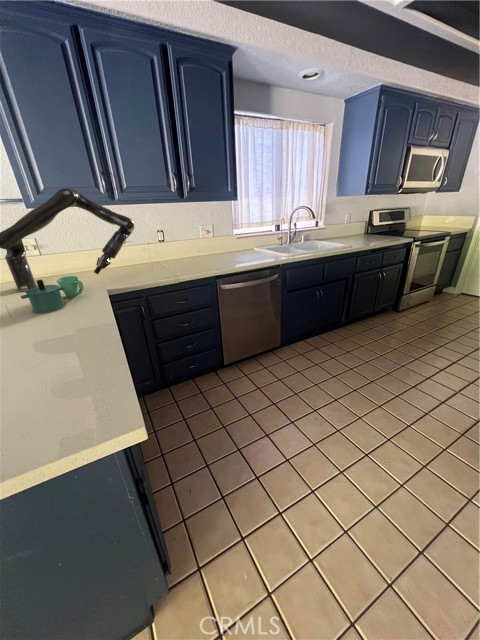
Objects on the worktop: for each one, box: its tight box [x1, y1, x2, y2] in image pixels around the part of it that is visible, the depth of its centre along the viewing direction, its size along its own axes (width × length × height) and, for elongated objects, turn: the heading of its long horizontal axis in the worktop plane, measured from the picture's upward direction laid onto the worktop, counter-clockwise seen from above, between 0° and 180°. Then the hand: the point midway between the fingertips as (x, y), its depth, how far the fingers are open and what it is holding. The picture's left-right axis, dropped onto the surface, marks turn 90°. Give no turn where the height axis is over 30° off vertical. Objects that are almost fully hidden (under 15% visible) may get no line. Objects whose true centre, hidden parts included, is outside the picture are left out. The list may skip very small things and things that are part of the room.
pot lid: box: [24, 279, 60, 295], centre depth 127 cm, size 14×14×6 cm
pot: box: [20, 286, 65, 314], centre depth 130 cm, size 13×18×10 cm
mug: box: [56, 275, 85, 298], centre depth 145 cm, size 15×10×10 cm
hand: (95, 273), depth 151 cm, fingers closed
